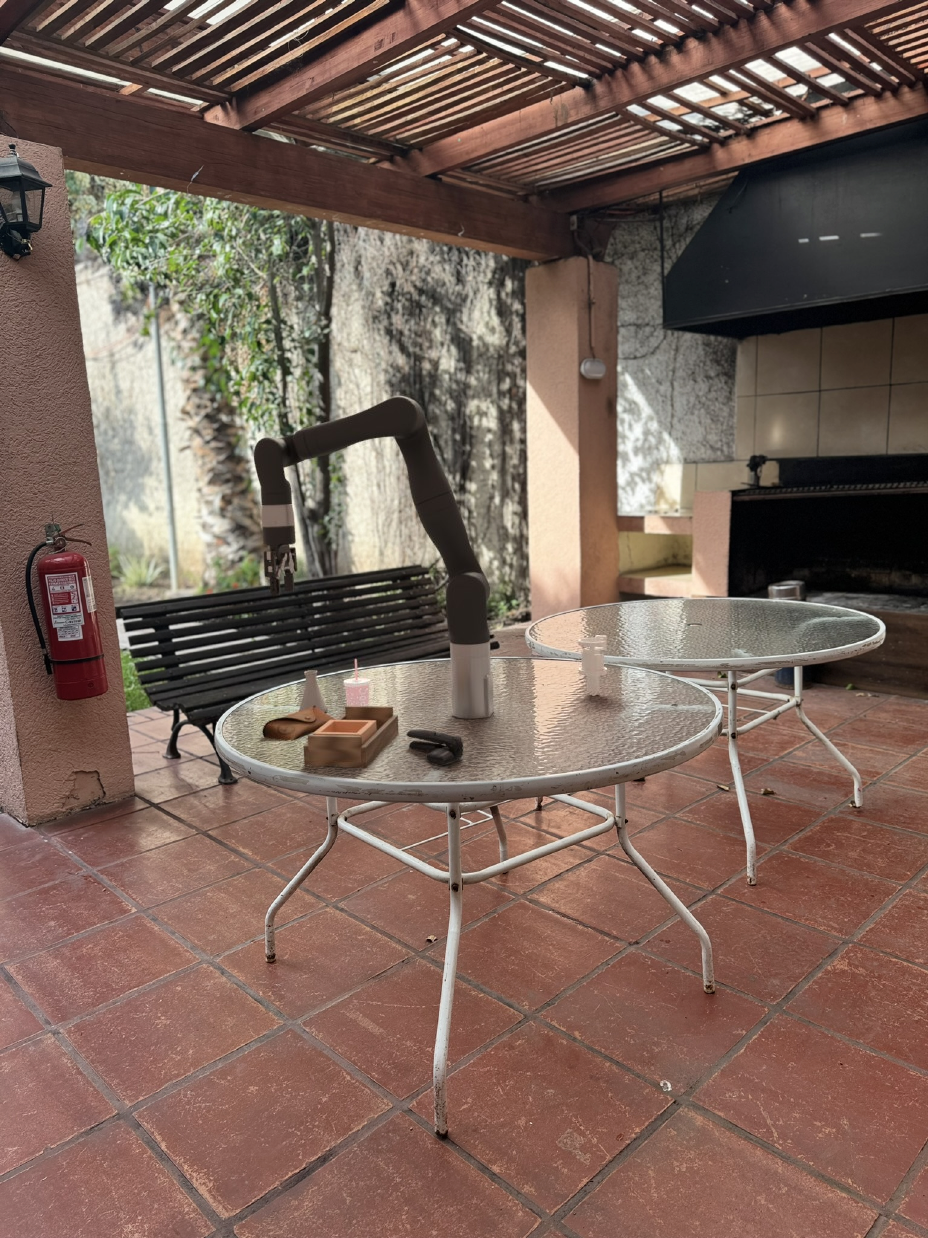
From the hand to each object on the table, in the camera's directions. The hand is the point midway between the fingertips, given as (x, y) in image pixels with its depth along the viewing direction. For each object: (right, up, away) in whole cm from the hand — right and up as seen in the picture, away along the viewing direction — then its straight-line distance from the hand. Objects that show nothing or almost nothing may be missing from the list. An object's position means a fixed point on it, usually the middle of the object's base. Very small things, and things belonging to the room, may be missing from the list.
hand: (282, 593), depth 212 cm
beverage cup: (+18, -30, -4) cm, 35 cm away
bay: (+20, -33, -28) cm, 48 cm away
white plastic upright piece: (+75, -25, +12) cm, 80 cm away
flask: (+7, -29, +4) cm, 30 cm away
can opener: (+37, -34, -34) cm, 61 cm away
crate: (+19, -32, -33) cm, 50 cm away
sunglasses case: (+7, -32, -11) cm, 34 cm away
